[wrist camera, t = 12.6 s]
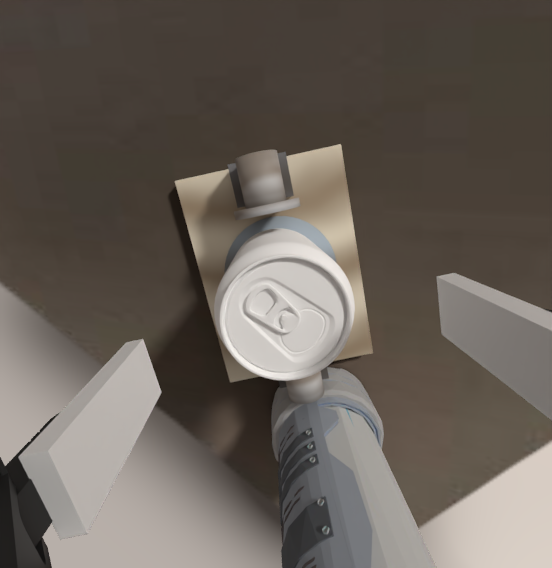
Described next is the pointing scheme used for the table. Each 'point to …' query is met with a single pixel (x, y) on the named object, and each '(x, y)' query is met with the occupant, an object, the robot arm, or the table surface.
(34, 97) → the table surface
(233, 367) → the cradle
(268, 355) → the beverage can
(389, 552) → the canister
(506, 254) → the table surface
